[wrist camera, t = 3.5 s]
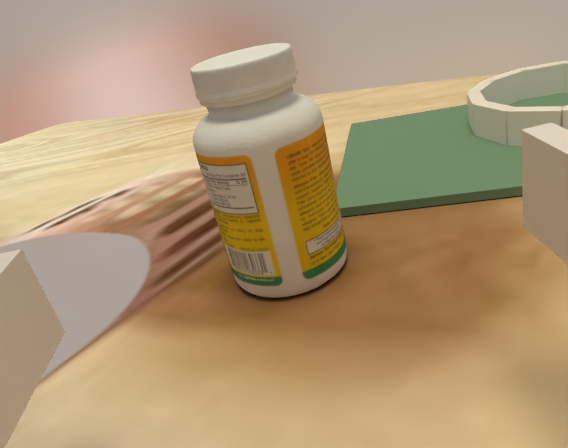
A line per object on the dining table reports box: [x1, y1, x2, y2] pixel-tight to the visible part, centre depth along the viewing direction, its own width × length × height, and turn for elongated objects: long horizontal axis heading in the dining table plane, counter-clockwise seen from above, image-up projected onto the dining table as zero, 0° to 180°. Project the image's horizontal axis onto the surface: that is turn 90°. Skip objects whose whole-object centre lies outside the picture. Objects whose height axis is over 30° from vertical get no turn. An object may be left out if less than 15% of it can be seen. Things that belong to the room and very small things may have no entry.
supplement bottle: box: [190, 43, 347, 298], centre depth 21 cm, size 5×5×10 cm
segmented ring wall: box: [467, 60, 568, 146], centre depth 31 cm, size 11×11×2 cm
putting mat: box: [336, 93, 568, 217], centre depth 31 cm, size 19×15×1 cm
